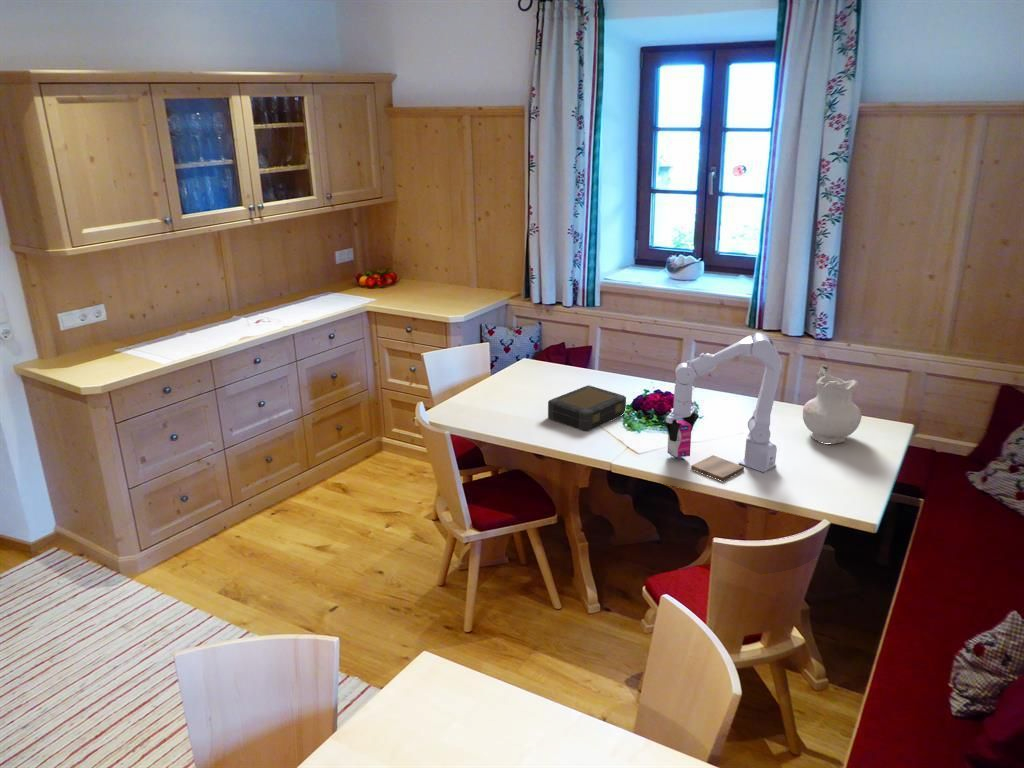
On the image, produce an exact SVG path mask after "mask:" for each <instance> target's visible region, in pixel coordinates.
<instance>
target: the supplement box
mask: <svg viewBox="0 0 1024 768" xmlns="http://www.w3.org/2000/svg"><path fill="white" fill-rule="evenodd" d="M676 422H677V423H680V424H681V426H680V428H679V430H678V435H677V440H676V441H675V442H674V441H671V440H670V437H669V433H667V454H669V455H670V456H671V457H673V458H674V459H678V458H685V457H686V458H687V457H690V456H691V448H692V447H691V443H692V442H691V441H692V431H691V426H692V425H691V424H689V423H688V422H687V421H685V420H684V419H683V418H682V419H677V420H676Z"/></svg>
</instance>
